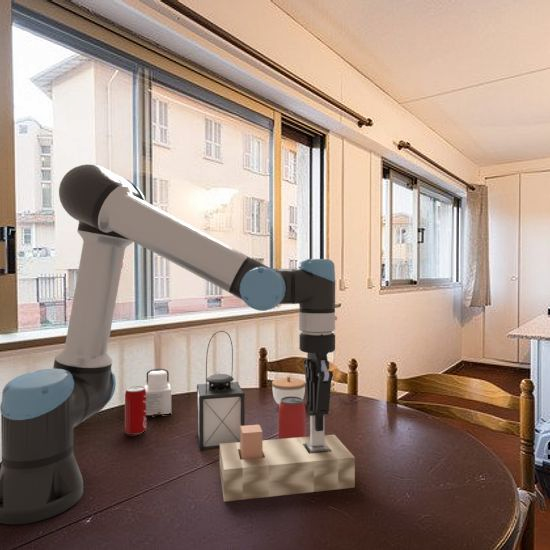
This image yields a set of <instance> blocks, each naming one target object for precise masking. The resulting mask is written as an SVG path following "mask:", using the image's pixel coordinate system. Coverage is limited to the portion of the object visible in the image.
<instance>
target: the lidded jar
mask: <svg viewBox="0 0 550 550" xmlns="http://www.w3.org/2000/svg"><path fill="white" fill-rule="evenodd" d="M271 384H272V385H271V386H272V387H271V388H272V396H273V400H274V401H275V402H276V404H277V405H280V402H281V399H282V398H284V397H289V396H294V397H300V398H302V399H303V400H304V398H305V394H306V393H305V392H306V380H305V381H304V379H301V378H298V377H297V378H295V377H291V376H287V377H281V378H276V379H274V380H272V381H271Z"/></svg>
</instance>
